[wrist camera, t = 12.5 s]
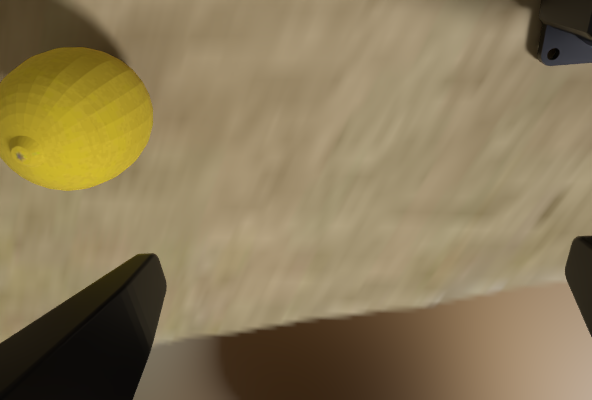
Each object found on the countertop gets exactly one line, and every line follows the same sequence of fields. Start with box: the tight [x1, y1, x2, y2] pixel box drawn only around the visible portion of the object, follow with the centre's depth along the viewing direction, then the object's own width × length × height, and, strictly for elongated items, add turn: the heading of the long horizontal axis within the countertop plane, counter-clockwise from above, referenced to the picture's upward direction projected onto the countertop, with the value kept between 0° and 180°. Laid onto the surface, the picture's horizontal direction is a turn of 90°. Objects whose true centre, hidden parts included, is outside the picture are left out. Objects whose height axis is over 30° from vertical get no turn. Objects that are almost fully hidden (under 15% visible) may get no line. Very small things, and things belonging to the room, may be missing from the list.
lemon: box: [0, 47, 153, 191], centre depth 18 cm, size 6×6×8 cm
